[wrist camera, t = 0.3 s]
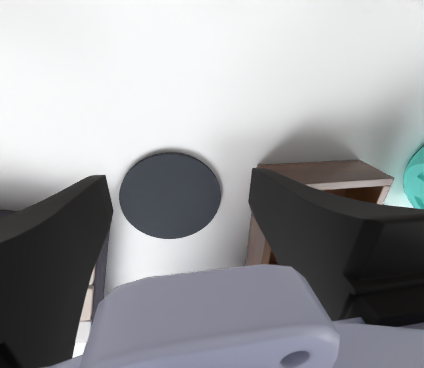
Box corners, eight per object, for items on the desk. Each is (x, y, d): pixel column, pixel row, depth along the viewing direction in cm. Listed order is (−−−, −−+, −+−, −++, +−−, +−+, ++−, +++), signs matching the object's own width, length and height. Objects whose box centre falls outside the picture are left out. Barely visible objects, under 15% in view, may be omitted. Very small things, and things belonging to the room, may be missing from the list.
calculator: (101, 244, 20) (92, 349, 26) (112, 217, 24) (102, 313, 30) (-56, 231, 17) (-27, 352, 23) (-15, 203, 21) (1, 312, 27)
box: (325, 257, 31) (347, 284, 28) (244, 267, 30) (255, 297, 26) (359, 159, 25) (394, 177, 21) (257, 164, 23) (274, 185, 19)
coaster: (218, 232, 26) (219, 234, 26) (128, 240, 25) (128, 243, 24) (221, 150, 22) (222, 151, 21) (110, 154, 20) (109, 156, 20)
